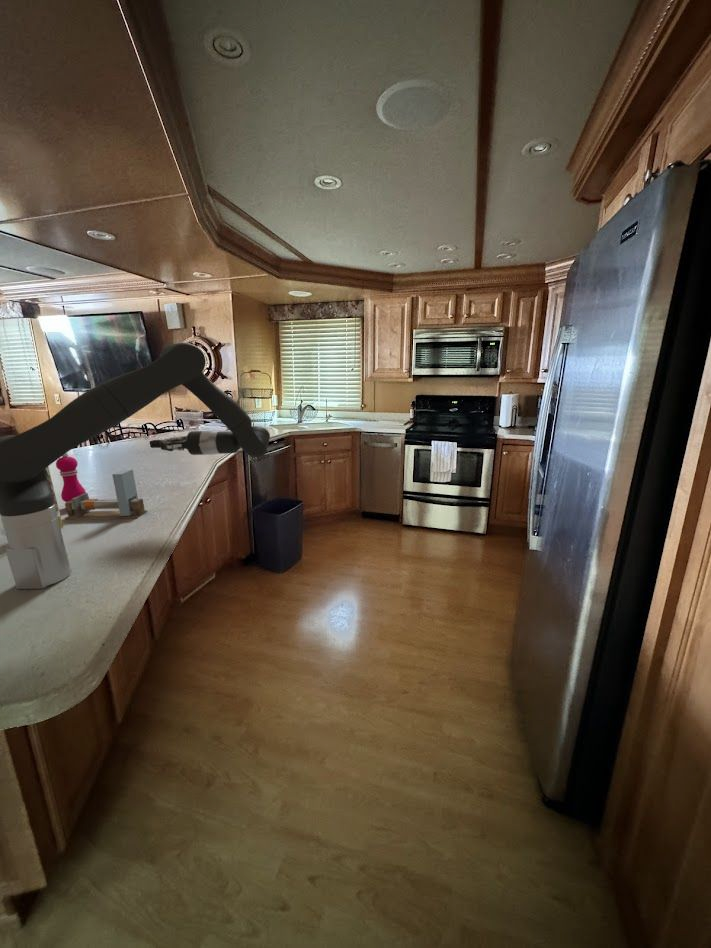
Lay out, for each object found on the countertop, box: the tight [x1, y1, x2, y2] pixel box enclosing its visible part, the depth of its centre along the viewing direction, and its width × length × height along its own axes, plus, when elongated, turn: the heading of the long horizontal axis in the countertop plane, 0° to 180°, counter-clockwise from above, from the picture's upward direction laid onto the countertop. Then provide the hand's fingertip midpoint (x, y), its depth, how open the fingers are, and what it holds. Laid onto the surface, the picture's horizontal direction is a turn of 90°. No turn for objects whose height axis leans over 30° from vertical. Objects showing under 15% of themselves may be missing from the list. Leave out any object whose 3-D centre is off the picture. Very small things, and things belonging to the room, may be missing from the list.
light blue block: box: [111, 468, 139, 516], centre depth 123 cm, size 6×3×14 cm, turn 0°
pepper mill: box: [55, 452, 87, 510], centre depth 132 cm, size 7×7×20 cm
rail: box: [64, 492, 148, 520], centre depth 125 cm, size 6×24×7 cm, turn 90°
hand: (151, 443), depth 119 cm, fingers closed
